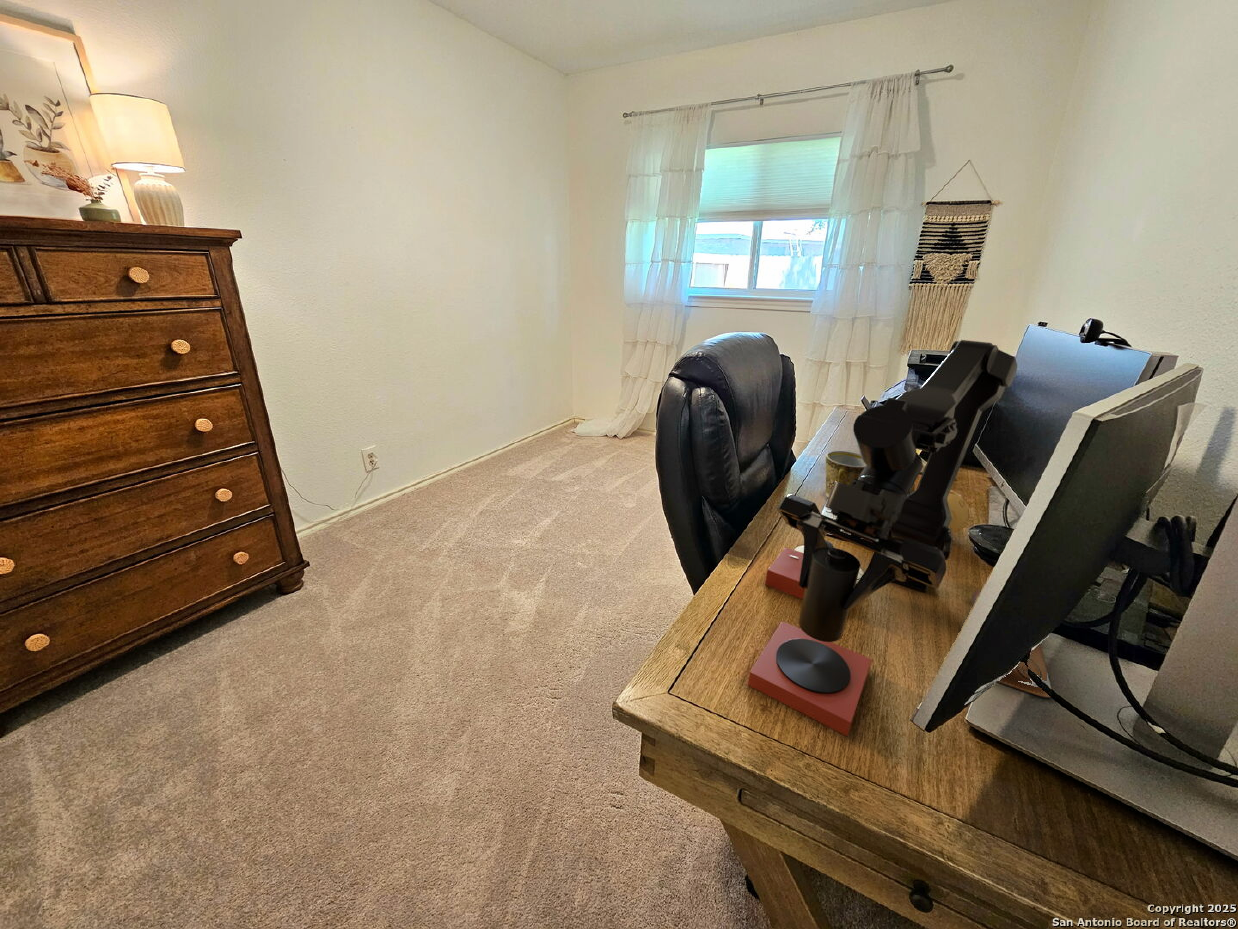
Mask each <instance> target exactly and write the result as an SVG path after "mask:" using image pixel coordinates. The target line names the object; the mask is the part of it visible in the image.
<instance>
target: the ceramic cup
mask: <svg viewBox="0 0 1238 929" xmlns="http://www.w3.org/2000/svg"><path fill="white" fill-rule="evenodd" d="M865 466H866V464H865V463H864V461H863V460H862V457H861V454H860V453H858V452H853V451H847V450H833V451H830V452H829V451H828V452H827V453H826V455H825V497H827V499H828V498H829V495H830V493H831V490H832V488H833V485H834V483H835V482H838V483H841V484H844V485H847V486H850V484H851V483H852V481H854V479H858V478H859V477H860V475H861V473H862V471H863V469H864V468H865Z"/></svg>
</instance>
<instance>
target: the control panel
mask: <svg viewBox="0 0 1238 929" xmlns="http://www.w3.org/2000/svg"><path fill="white" fill-rule="evenodd" d="M803 553H804V552H802V551H798V550H795V549H792V548H789V547H786V546H785V547H784V548H783V549H782V550H781V552H780V553H779V555H777V557H776V558H775V560H774V561H773V562H772V563H771V565H770V566H769V567H768V569H767V571H766V576H765V583H764V585H765V586H767V587H770V588H773V589H775V590H778V591H781V592H783V593H785V594H788V595H791V596H793V597H795V598H798V599H801V600H803V596H804V592H805V588H804V589H802V588H800V586H799V580H800V573H801V567H802V558H803ZM805 587H806V586H805Z"/></svg>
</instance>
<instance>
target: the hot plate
mask: <svg viewBox="0 0 1238 929" xmlns="http://www.w3.org/2000/svg"><path fill="white" fill-rule="evenodd" d="M872 661H873V659H872V658H870V657H867V656H865V655H863V654H860V653H859V652H857V651H854V650H851V649H849V648H846V647H845V646H842V645H839V644H837V643H835V642H824V641H819V640H816V639H814V638H812V637H810V636H808V635H807V634H806V633H804V632H803V631H802V629H801V628H800V627H798V626H794V625H792V624H790V623H788V622H785V621H782V620H781V622H780V623H779V625H778V627H777V628H776V630H775V631H774V633H773V634H772V636H771V638H770V640H769V641H768V643H767V644H766V645H765V647H764V649H763V650H762V652H761V654H760V655H759V657H758V658H757V660H756V662H755V663H754V665H753V666H752V668H751V669H750V671H749V676H748V682H747V686H749V687H751V688H753V689H754V690H757V691H758V692H761V693H762V694H764V695H766V696H768V697H770V698H771V699H773V700H775V701H778V702H780V703H782V704H784V705H786V706H788V707H789V708H791V709H793V710H795V711H798V712H799V713H801V714H803V715H805V716H807V717H809V718H811V719H812V720H815V721H817V722H818V723H821V724H823V725H824V726H825V727H829V728H830V729H832V730H834V731H836V732H838V733H840V734H841V735H844V736H846V737H848V735H849V732H850V729H851V727H852V723H853V721H854V717H855V714H856V711H857V708H858V704H859V702H860V699H861V696H862V693H863V690H864V687H865V684H866V681H867V678H868V675H869V672H870V668H871V664H872Z"/></svg>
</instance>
